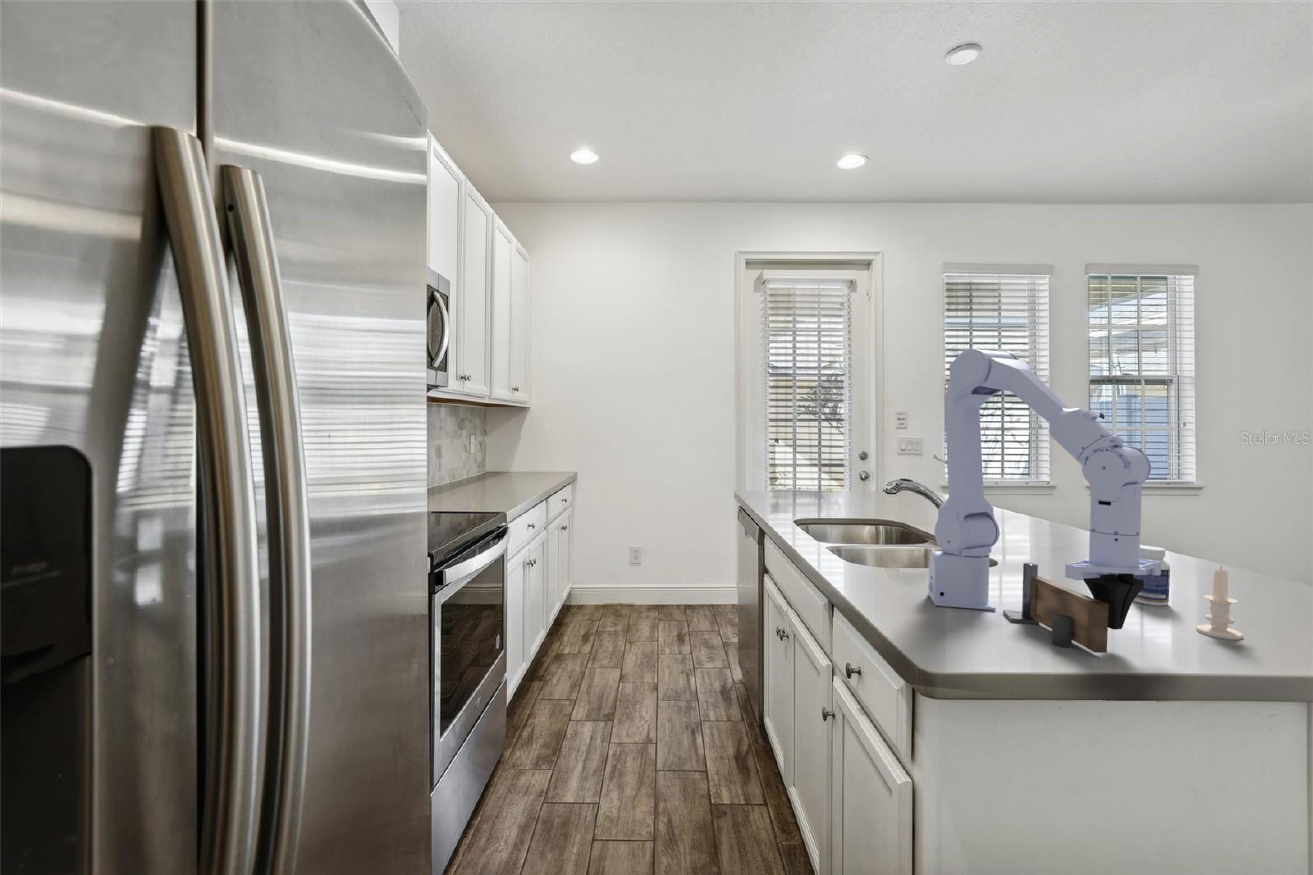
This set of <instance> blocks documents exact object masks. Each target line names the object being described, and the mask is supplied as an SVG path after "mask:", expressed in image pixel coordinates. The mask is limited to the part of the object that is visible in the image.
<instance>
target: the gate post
mask: <svg viewBox="0 0 1313 875" xmlns="http://www.w3.org/2000/svg"><path fill="white" fill-rule="evenodd" d="M1038 572H1039V564H1037V563H1033V562H1023V566H1022V597H1021V598H1022V602H1021V603H1022V605H1021V606H1022V607H1021V610H1006V609H1003V610H1002V613H1003V615H1004V617H1006V618H1007V619H1008V620H1009V622H1011V623H1017V624H1018V623H1019V624H1031V625H1040V622H1038V621H1036V620H1034V619H1032V618H1030V605H1031V576H1039V575H1038Z"/></svg>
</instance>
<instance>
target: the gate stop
mask: <svg viewBox="0 0 1313 875" xmlns="http://www.w3.org/2000/svg"><path fill="white" fill-rule="evenodd" d="M1072 619H1073V618H1072V617H1070V616H1067V615H1062V614H1053V615H1052V629H1051V644H1052V645H1054V646H1057V647H1061V648H1071V647H1072V646H1073V645H1072V644H1073V643H1072V642H1073V640H1072Z"/></svg>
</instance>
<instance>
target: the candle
mask: <svg viewBox="0 0 1313 875" xmlns="http://www.w3.org/2000/svg"><path fill="white" fill-rule="evenodd" d="M1228 572H1229V571H1228V569H1225V568H1224V569H1222V565H1220V568H1219V569H1215V570H1214V573H1213V574H1214V575H1213V585H1212V595H1211V594H1205V595H1202V598H1204V599H1206V600H1208V601H1209V602H1210V607H1209V612H1210V614H1205V620H1207V621H1210V623H1209V624H1198V625H1196V631H1197V632H1198V633H1200V634H1202V635H1205V636H1207V637H1208V636H1209V637H1212V638H1215V639H1216V638H1217V639H1222V640H1223V639H1224V640H1229V641H1230V640H1233V641H1237V640H1242V639H1243V637H1244V636H1243V633H1242V632H1240V631H1238V630H1235V629H1233V628H1230V627H1229V625H1231V624H1234V622H1235V620H1234V619H1233V618H1232V617H1229V616H1230V612H1231V610H1230V607H1231V605H1232V604H1236V603H1237V604H1238V602H1239V601H1238V600H1237V599H1235V598H1232V597H1231V598H1230V597H1228V594H1229V592H1228V590H1229V589H1228V588H1229V587H1228V586H1229V584H1228V583H1229V575H1228Z"/></svg>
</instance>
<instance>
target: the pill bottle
mask: <svg viewBox="0 0 1313 875" xmlns="http://www.w3.org/2000/svg"><path fill="white" fill-rule="evenodd" d="M1165 557H1166V549H1165V548H1163V547H1158V546H1153V545H1151V546H1150V545H1140V555H1139V559H1149V560H1154V561H1158V562H1161V575H1157V576H1155V575H1151V574H1149V575H1134V578H1136V579H1139V580H1143V581H1144V588H1143V589H1142V590H1141V591H1140V592H1139V593H1138V595H1137V596H1136V598H1135V599H1134V601H1133V602H1134V603H1138V604H1143V605H1146V606H1156V607H1162V606H1163V607H1166V606H1168V605H1169V602H1170V585H1171V584H1170V576H1171V566H1170V563H1168V561H1165V560H1164V558H1165Z"/></svg>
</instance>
